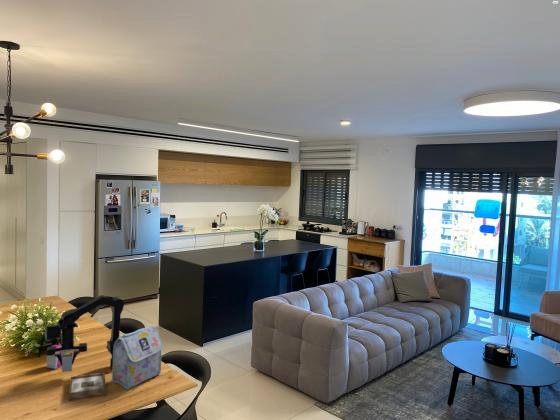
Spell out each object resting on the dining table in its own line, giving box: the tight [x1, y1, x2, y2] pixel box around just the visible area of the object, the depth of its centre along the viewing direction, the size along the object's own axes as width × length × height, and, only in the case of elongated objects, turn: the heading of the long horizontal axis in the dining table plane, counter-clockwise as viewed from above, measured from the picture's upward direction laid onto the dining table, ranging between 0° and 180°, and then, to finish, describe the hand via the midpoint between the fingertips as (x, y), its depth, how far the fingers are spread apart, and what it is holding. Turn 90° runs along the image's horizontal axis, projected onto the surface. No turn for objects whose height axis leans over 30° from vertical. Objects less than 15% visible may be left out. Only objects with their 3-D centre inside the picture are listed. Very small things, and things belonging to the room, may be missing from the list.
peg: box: [61, 352, 73, 373], centre depth 216 cm, size 4×4×8 cm
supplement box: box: [46, 344, 64, 371], centre depth 228 cm, size 6×6×12 cm
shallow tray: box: [68, 372, 106, 401], centre depth 207 cm, size 16×18×4 cm
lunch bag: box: [111, 325, 163, 390], centre depth 218 cm, size 22×17×26 cm
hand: (67, 364), depth 217 cm, fingers closed on peg, 4 cm apart
